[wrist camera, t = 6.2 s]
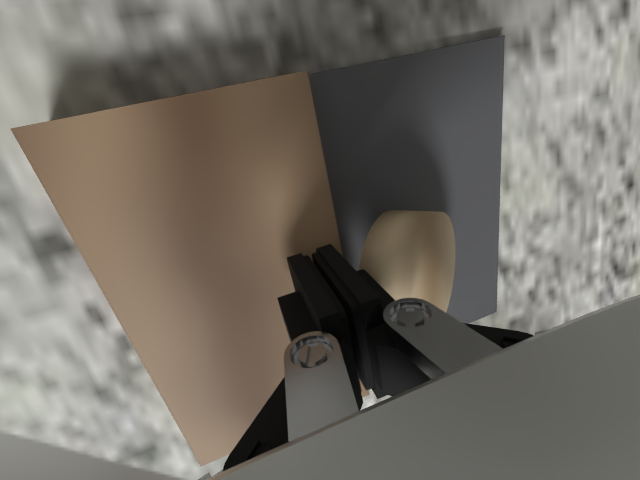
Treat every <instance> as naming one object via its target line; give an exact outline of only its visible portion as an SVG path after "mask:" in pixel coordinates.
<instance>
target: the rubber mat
mask: <svg viewBox="0 0 640 480" xmlns="http://www.w3.org/2000/svg"><path fill="white" fill-rule="evenodd" d="M504 37H505V35H503V36H499V37H494V38H489V39H484V40H479V41H474V42H469V43H464V44H459V45H454V46H449V47H444V48H439V49H434V50H429V51H424V52H419V53H414V54H409V55H404V56H399V57H394V58H389V59H384V60H379V61H374V62H369V63H364V64H359V65H354V66H349V67H344V68H339V69H334V70H329V71H324V72H319V73H314V74H309V75H308V77H309V83H310V88H311V93H312V98H313V103H314V109H315V114H316V119H317V124H318V129H319V135H320V140H321V145H322V150H323V155H324V161H325V166H326V171H327V176H328V181H329V187H330V192H331V197H332V202H333V207H334V213H335V218H336V223H337V228H338V234H339V239H340V244H341V249H342V254H343V257H344V258H345V260H346V261H347V262H348V263H349V264H350V265H351V266H352V267H353V268H354V269H355V270H356V271H358V270H359V263H360V257H361V253H362V249H363V246H364V243H365V240H366V238H367V235H368V233H369V231H370V229H371V227H372V225H373V224H374V222H375V221H376V220H377V218H378V217H379V216H380V215H381V214H382V213H384V212H386V211H388V210H409V211H434V212H444V213H446V214H447V215H448V216H449V218H450V220H451V222H452V226H453V230H454V236H455V272H454V280H453V287H452V292H451V297H450V301H449V305H448V309H447V312H446V313H447V314H449V315H450V316H452V317H454V318H455V319H457V320H458V321H460V322H462V323H466V324H468V323H471V322H473V321H475V320H478V319H480V318H483V317H485V316H488V315H490V314H493V313H495V312H496V309H497V275H498V241H499V207H500V173H501V139H502V105H503V71H504Z"/></svg>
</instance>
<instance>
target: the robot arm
mask: <svg viewBox="0 0 640 480" xmlns="http://www.w3.org/2000/svg"><path fill="white" fill-rule="evenodd" d="M312 259H313V262H312V260H311V259H310V257H309V256H308V255H306V256H303V255H302V253H299V254H296V255H293V256H290V257H287V262H288V266H289V270H290V274H291V277H292V281H293V285H294V289H295V292H293V293H290V294H287V295H284V296H281V297H278V298H277V299H278V303H279V306H280V309H281V313H282V316H283V319H284V323H285V326H286V329H287V332H288V335H289V339H290V342H291V343H290V344H289V345H288V346H287V348H286V350H285V352H284V373H285V377H284V378H283V379H282V381H281V382H280V384H279V385H278V387H277V388H276V389H275V391H274V392H273V394H272V395H271V396H270V398H269V399H268V401H267V402H266V404H265V405H264V406H263V408H262V409H261V411H260V412H259V413H258V415H257V416H256V418H255V419H254V421H253V422H252V423H251V425H250V426H249V428H248V429H247V431H246V432H245V433H244V435H243V436H242V438H241V439H240V440H239V442H238V443H237V445H236V446H235V448H234V449H233V450H232V452H231V453H230V455H229V457H228V459H227V461H226V462H225V465H224V468H223V470H221V471H220V472H218V473H217V474H216V475H214V476H213V477H211V475H210V473H207V474H206V475H204V476H203V477H201V478H200V479H198V480H640V295H639V296H635V297H631V298H628V299H626V300H623V301H620V302H618V303H615V304H612V305H609V306H607V307H604V308H601V309H599V310H596V311H593V312H591V313H588V314H586V315H583V316H581V317H579V318H576V319H574V320H571V321H569V322H567V323H564V324H562V325H559V326H557V327H554V328H552V329H549V330H545V331H539V332H535V336H533V335H531V334H528V333H524V332H519V331H513V330H507V329H500V328H493V327H486V326H480V325H473V324H466V323H462V322H460V321H458V320H457V319H455V318H454V317H452V316H450V315H449V314H447V313H446V312H444V311H443V310H441V309H439V308H438V307H436V306H435V305H433V304H431V303H430V302H428V301H425V300H423V299H418V298H402V299H398V300H396V301H395V300H394V299H393V298H392V297H391V296H390V295H389V294H388V293H387V292H386V291H385V290H384V289H383V288H382V287H381V286H380V285H379V284H378V283H377V282H376V281H375V280H374V279H373V278H372V277H371V276H370V275H369V274H368V273H367V272H366V271H365V270H364V269H361V270H358V271H356V270H355V269H354V268H353V267H352V266H351V265H350V264H349V263H348V262H347V261H346V260H345V258H344V257H343V256H342V255H341V254H340V253H339V252H338V251H337V250H336V249H335V248H334V247H333V246H332V245H331V244H328V245H325V246H322V247H318V248H316V253H312ZM360 381H361V382H362V384H363V386H364V388H365V389H366V390H369V389H371V388H372V390H373V392H374V394H375V395H376V397H377V399H379V398H381V397H384V396H386V395H390V396H393V397H390V398H388V399H386V400H383V401H381V402H379V403H377V404H374V405H372V406H370V407H367V408H365V409H363V410H361V411H360V409H361V407H362V404H363V399H362V394H361V393H362V389H361V384H360Z"/></svg>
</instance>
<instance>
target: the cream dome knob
mask: <svg viewBox="0 0 640 480" xmlns="http://www.w3.org/2000/svg"><path fill="white" fill-rule="evenodd" d="M361 269H364V270H365V271H366V272H367V273H368V274H369V275H370V276H371V277H372V278H373V279H374V280H375V281H376V282H377V283H378V284H379V285H380V286H381V287H382V288H383V289H384V290H385V291H386V292H387V293H388V294H389V295H390V296H391V297H392V298H393V299H394V300H395V301H396V300H398V299H402V298H418V299H423V300H425V301H428V302H430V303H431V304H433V305H435V306H436V307H438V308H439V309H441V310H443V311H444V312H447V309H448V305H449V301H450V297H451V292H452V287H453V280H454V272H455V236H454V230H453V226H452V222H451V220H450V218H449V216H448V215H447V214H446V213H444V212H434V211H409V210H388V211H386V212H384V213H382V214H381V215H380V216H379V217H378V218H377V220H376V221H375V222H374V224H373V225H372V227H371V229H370V231H369V233H368V235H367V238H366V240H365V243H364V246H363V249H362V253H361V257H360V263H359V270H361Z"/></svg>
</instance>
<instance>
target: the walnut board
mask: <svg viewBox="0 0 640 480" xmlns="http://www.w3.org/2000/svg"><path fill="white" fill-rule="evenodd" d="M11 130H12V132H13V134H14V136H15V138H16V139H17V141H18V143H19V145H20V146H21V148H22V150H23V152H24V154H25V155H26V157H27V159H28V161H29V162H30V164H31V166H32V168H33V169H34V171H35V173H36V175H37V177H38V178H39V180H40V182H41V184H42V185H43V187H44V189H45V191H46V193H47V194H48V196H49V198H50V200H51V201H52V203H53V205H54V207H55V209H56V210H57V212H58V214H59V216H60V217H61V219H62V221H63V223H64V224H65V226H66V228H67V230H68V232H69V233H70V235H71V237H72V239H73V240H74V242H75V244H76V246H77V248H78V249H79V251H80V253H81V255H82V256H83V258H84V260H85V262H86V264H87V265H88V267H89V269H90V271H91V272H92V274H93V276H94V278H95V279H96V281H97V283H98V285H99V287H100V288H101V290H102V292H103V294H104V295H105V297H106V299H107V301H108V303H109V304H110V306H111V308H112V310H113V311H114V313H115V315H116V317H117V319H118V320H119V322H120V324H121V326H122V327H123V329H124V331H125V333H126V334H127V336H128V338H129V340H130V342H131V343H132V345H133V347H134V349H135V350H136V352H137V354H138V356H139V358H140V359H141V361H142V363H143V365H144V366H145V368H146V370H147V372H148V374H149V375H150V377H151V379H152V381H153V382H154V384H155V386H156V388H157V389H158V391H159V393H160V395H161V397H162V398H163V400H164V402H165V404H166V405H167V407H168V409H169V411H170V413H171V414H172V416H173V418H174V420H175V421H176V423H177V425H178V427H179V429H180V430H181V432H182V434H183V436H184V437H185V439H186V441H187V443H188V444H189V446H190V448H191V450H192V452H193V453H194V455H195V457H196V459H197V460H198V462H199V464H200V466H203V465H205V464H207V463H210V462H212V461H214V460H217V459H219V458H221V457H224V456H226V455H228V454H230V453H231V452H232V450H233V449H234V448H235V446H236V445H237V443H238V442H239V440H240V439H241V438H242V436H243V435H244V433H245V432H246V431H247V429H248V428H249V426H250V425H251V423H252V422H253V421H254V419H255V418H256V416H257V415H258V413H259V412H260V411H261V409H262V408H263V406H264V405H265V404H266V402H267V401H268V399H269V398H270V396H271V395H272V394H273V392H274V391H275V389H276V388H277V387H278V385H279V384H280V382H281V381H282V379H283V378H284V377H285V373H284V352H285V350H286V348H287V346H288V345H289V344H290V343H291V342H290V339H289V335H288V332H287V329H286V326H285V323H284V319H283V316H282V313H281V309H280V306H279V303H278V299H277V298H278V297H281V296H284V295H287V294H290V293H293V292H295V289H294V285H293V281H292V277H291V274H290V270H289V266H288V262H287V257H290V256H293V255H296V254H299V253H302V255H303V256H306V255H308V256H309V257H310V259H311V260H312V262H313V259H312V253H316V248H318V247H322V246H325V245H328V244H331V245H332V246H333V247H334V248H335V249H336V250H337V251H338V252H339V253H340V254H341V255H342V256H343V254H342V249H341V244H340V239H339V234H338V228H337V223H336V218H335V213H334V207H333V202H332V197H331V192H330V187H329V181H328V176H327V171H326V166H325V161H324V155H323V150H322V145H321V140H320V135H319V129H318V124H317V119H316V114H315V109H314V103H313V98H312V93H311V88H310V83H309V77H308V72H307V70H305V71H300V72H295V73H290V74H285V75H280V76H275V77H270V78H265V79H260V80H255V81H250V82H244V83H239V84H234V85H229V86H224V87H219V88H214V89H209V90H204V91H199V92H194V93H189V94H184V95H179V96H174V97H169V98H164V99H158V100H153V101H148V102H143V103H138V104H133V105H128V106H123V107H118V108H113V109H108V110H103V111H98V112H93V113H88V114H83V115H77V116H72V117H67V118H62V119H57V120H52V121H47V122H42V123H37V124H32V125H27V126H22V127H17V128H12V129H11ZM360 384H361V389H362V393H361V394H362V397H364V396H366V395H369V390H366V389H365V388H364V386H363V384H362V382H361V381H360Z"/></svg>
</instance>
